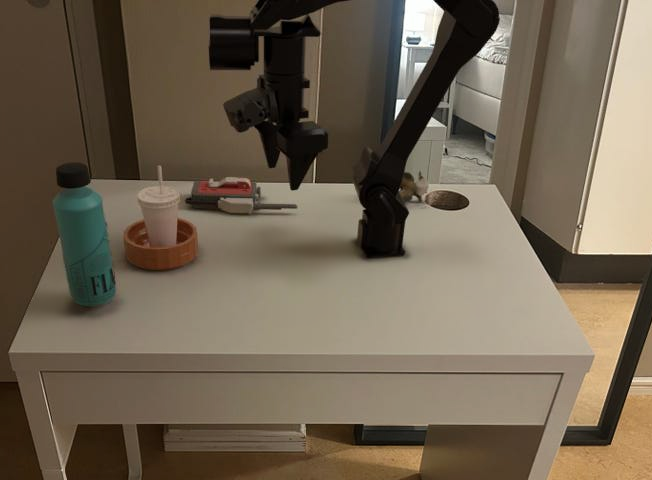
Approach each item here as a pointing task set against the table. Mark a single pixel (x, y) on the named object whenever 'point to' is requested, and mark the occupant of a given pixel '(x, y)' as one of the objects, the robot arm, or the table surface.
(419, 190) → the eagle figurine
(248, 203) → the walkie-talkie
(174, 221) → the smoothie
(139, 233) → the bowl
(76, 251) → the beverage bottle
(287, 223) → the table surface
